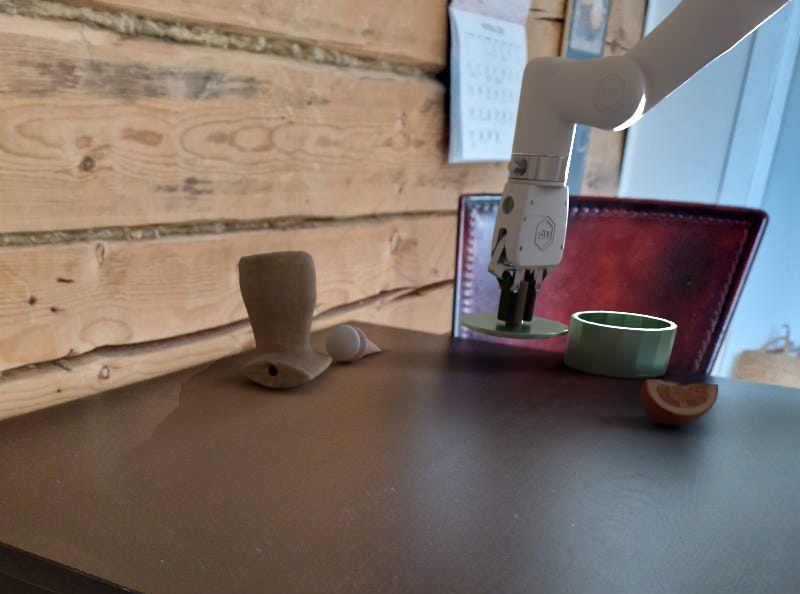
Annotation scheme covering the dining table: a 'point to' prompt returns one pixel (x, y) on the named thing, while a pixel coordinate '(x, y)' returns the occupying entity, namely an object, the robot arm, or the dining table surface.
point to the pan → (619, 344)
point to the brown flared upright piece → (281, 317)
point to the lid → (517, 330)
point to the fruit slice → (677, 400)
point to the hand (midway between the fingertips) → (514, 319)
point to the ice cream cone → (348, 343)
